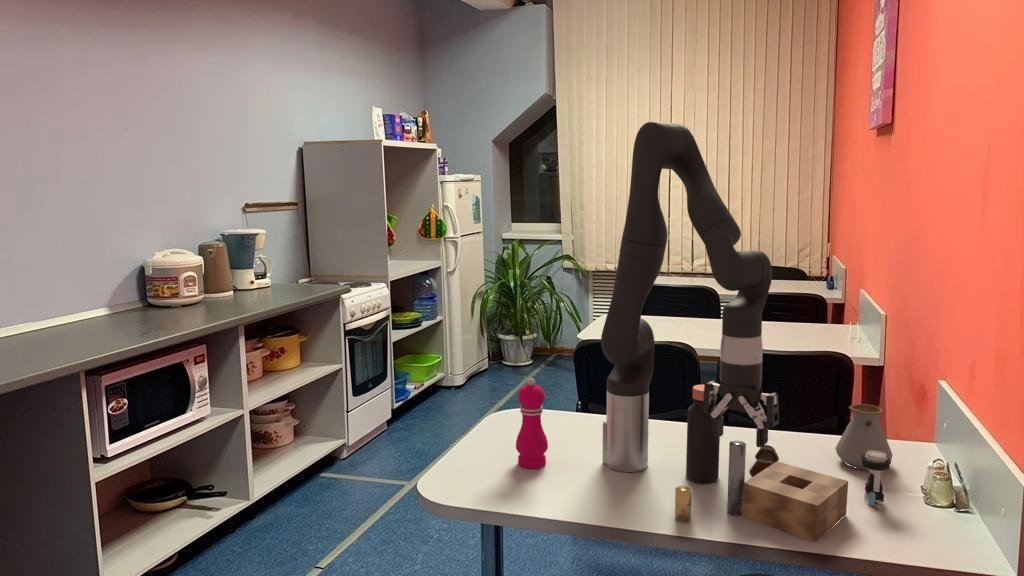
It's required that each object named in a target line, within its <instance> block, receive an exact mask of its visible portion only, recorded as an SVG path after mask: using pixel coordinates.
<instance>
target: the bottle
mask: <svg viewBox="0 0 1024 576" xmlns="http://www.w3.org/2000/svg"><path fill="white" fill-rule="evenodd" d="M704 385H705V384H696V385H693V386H692V400H693V403H692V404H691V405H690V406H689V407H688V408H687V416H686V417H687V418H686V419H687V420H686V421H687V424H686V425H687V426H686V428H687V429H686V455H685V456H686V461H685V462H686V463H685V477H686V478H687V479H688V480H689V481H690V482H694V483H696V484H704V485H705V484H707V485H709V484H714V483H716V482H718V480H719V474H720V473H719V471H720V470H719V469H720V468H719V467H720V464H719V463H720V442H721V436H720V437H715V435H714V433H713V431H712V416H711V415H710V414H708V413H704V412H703V399H704ZM717 394H718V392H717V393H716V395H715V403H716V402H717ZM716 406H717V405H715V407H716Z"/></svg>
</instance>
